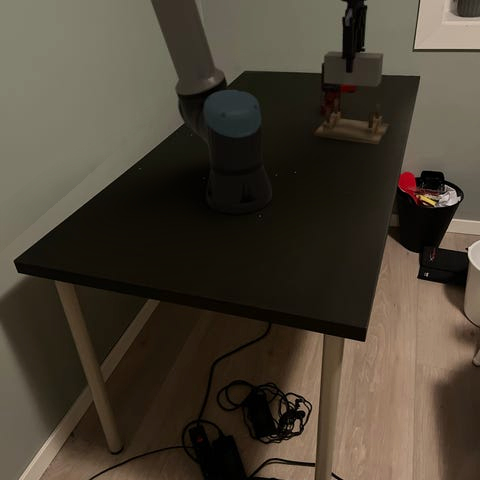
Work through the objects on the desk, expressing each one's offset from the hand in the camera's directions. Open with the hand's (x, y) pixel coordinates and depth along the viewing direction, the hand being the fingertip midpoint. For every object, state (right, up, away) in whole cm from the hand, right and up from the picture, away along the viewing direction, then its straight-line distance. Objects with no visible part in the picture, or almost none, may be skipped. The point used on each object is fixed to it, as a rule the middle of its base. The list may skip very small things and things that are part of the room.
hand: (352, 81), depth 125 cm
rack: (+3, -11, +12) cm, 16 cm away
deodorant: (-1, -2, +25) cm, 25 cm away
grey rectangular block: (0, 0, 0) cm, 0 cm away
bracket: (+6, +11, +42) cm, 44 cm away
